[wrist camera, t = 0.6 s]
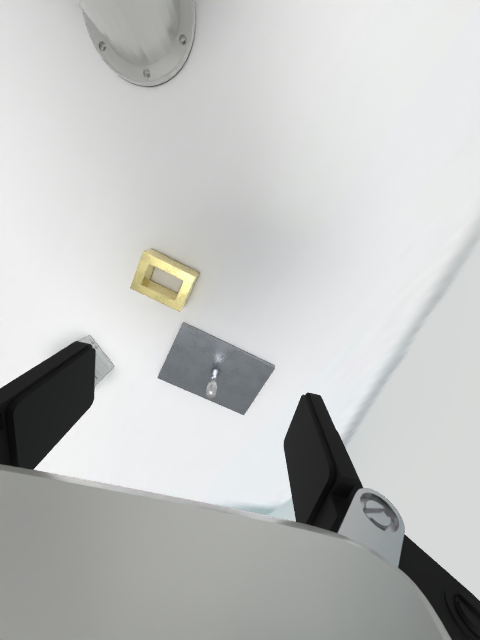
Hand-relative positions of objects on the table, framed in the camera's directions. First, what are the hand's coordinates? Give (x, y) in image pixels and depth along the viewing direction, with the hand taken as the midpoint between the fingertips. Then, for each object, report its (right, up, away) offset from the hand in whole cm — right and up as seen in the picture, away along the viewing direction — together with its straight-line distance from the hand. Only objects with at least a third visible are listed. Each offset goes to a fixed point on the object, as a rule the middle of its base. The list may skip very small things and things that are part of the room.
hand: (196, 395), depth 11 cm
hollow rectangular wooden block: (-9, +10, +28) cm, 31 cm away
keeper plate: (-3, -6, +34) cm, 35 cm away
